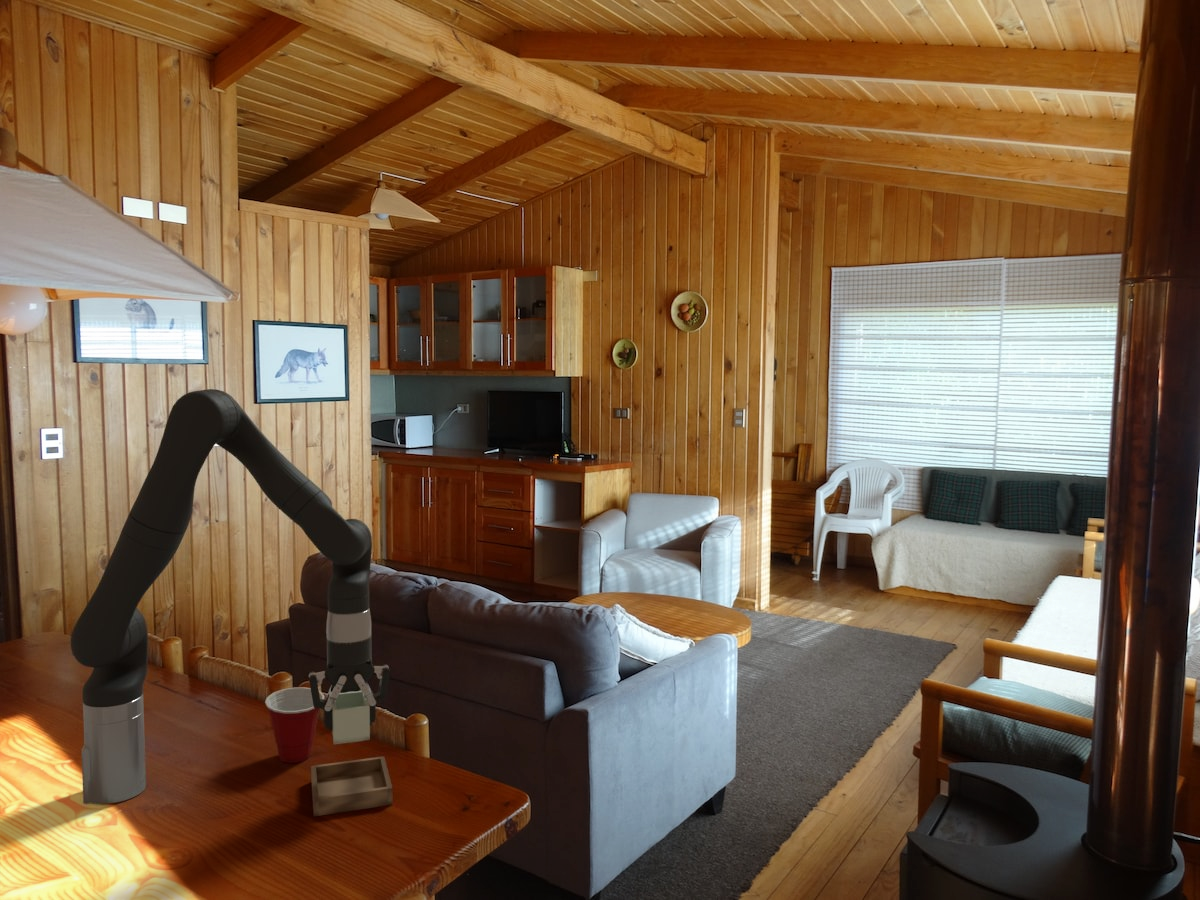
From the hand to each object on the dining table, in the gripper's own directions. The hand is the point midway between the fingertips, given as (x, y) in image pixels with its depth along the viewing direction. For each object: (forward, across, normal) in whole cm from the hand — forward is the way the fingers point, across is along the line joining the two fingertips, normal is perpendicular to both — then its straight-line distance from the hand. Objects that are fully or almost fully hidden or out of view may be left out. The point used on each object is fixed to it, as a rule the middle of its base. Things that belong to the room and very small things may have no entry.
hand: (350, 726), depth 153 cm
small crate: (+1, 0, 0) cm, 1 cm away
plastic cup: (+12, -9, +18) cm, 24 cm away
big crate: (+12, 0, 0) cm, 12 cm away
